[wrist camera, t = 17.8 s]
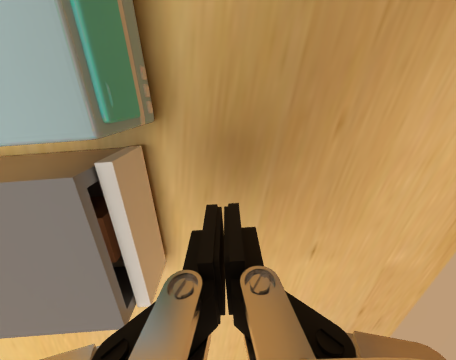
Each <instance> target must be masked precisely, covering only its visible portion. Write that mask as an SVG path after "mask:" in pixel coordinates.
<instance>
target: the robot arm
mask: <svg viewBox="0 0 456 360" xmlns="http://www.w3.org/2000/svg"><path fill="white" fill-rule="evenodd" d="M225 279H226V290H227V300H228V310H229V315H233V318H234V325H235V326H236V327H237V328H238V329H239V330H240V331H241V332H242V333H243V335H244V342H245V347H246V352H247V356H248V360H446V359H445V358H444V357H443V356H441V354H439V353H438V352H437V351H435V350H433V349H432V348H430V347H428V346H426V345H423V344H420V343H416V342H411V341H406V340H400V339H395V338H390V337H384V336H379V335H374V334H368V333H363V332H358V331H354V332H353V334H350V333H345V331H343V330H342V329H341V328H340V327H339V326H337V325H336V324H334V323H333V322H331V321H330V320H328V319H327V318H325V317H324V316H322V315H321V314H319V313H318V312H316V311H315V310H313V309H312V308H310V307H309V306H307V305H306V304H304V303H303V302H301V301H300V300H298V299H297V298H295V297H294V296H292V295H290V294H289V293H287V292H286V291H285V290H284V288H283V286H282V284H281V282H280V279H279V277H278V276H277V274H276V273H275V272H274V271H273V270H271V269H269V268H267V267H264V265H263V260H262V256H261V251H260V246H259V241H258V237H257V232H256V228H255V227H247V228H241V221H240V212H239V203H231V204H228V206H227V207H224V230H223V219H222V208H221V207H218V206H217V204H215V205H207V206H206V212H205V218H204V224H203V230H197V231H192V233H191V237H190V241H189V245H188V250H187V254H186V258H185V262H184V267H183V270H182V271H179V272H176V273H175V274H173V275H172V276H170V277H169V278H168V279H167V281H166V282H165V284H164V286H163V288H162V290H161V292H160V294H159V296H158V298H157V300H156V302H154V303H153V304H152V305H150V306H149V307H148V308H147V309H145V310H144V311H143V312H141V313H140V314H139V315H137V316H136V317H135V318H133V319H132V320H131V321H130V322H128V323H127V324H126V325H124V326H123V327H122V328H120V329H119V330H118V331H116V332H115V333H114V334H112V335H111V336H110V337H109V338H107V339H106V340H105V341H104V342H103V343H102V344H101V345H100V346H97V347H96V346H95V344H92V345H89V346H85V347H82V348H78V349H75V350H72V351H68V352H65V353H61V354H58V355H54V356H51V357H47V358H44V359H41V360H207V356H208V351H209V346H210V341H211V333H212V332H213V331H214V330H215V329H216V328H217V326H218V324H220V315H225Z"/></svg>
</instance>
